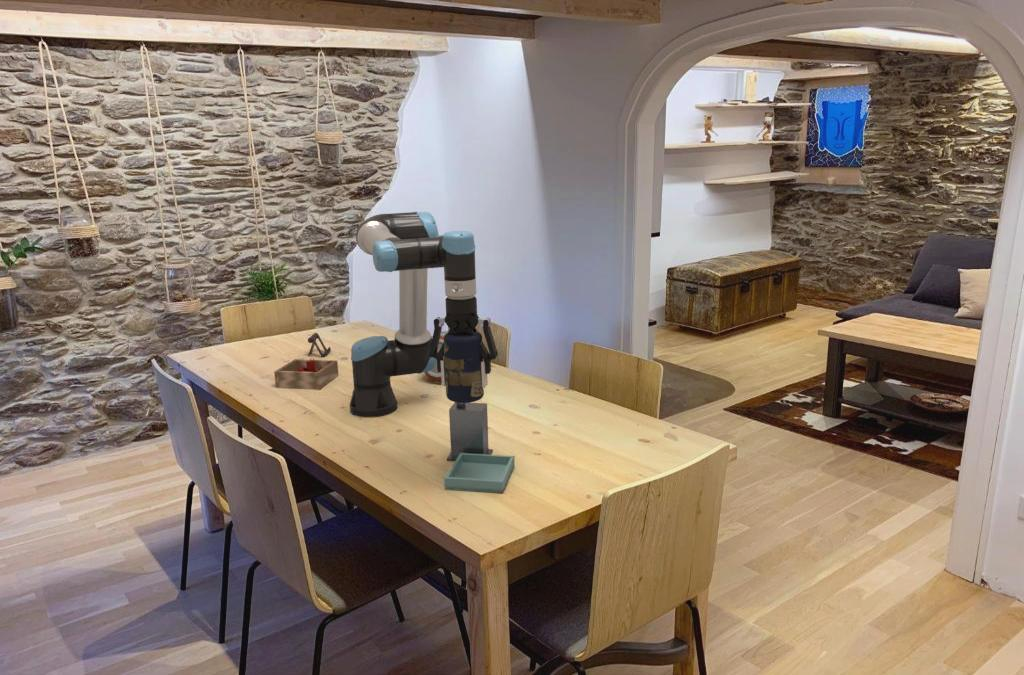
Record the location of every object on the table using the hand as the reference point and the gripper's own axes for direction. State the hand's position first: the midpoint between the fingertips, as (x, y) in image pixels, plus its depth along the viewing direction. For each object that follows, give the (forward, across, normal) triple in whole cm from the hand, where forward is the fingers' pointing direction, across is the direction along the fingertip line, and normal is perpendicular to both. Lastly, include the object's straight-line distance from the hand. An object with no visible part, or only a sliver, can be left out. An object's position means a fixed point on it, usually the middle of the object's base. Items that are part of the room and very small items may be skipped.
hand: (464, 385), depth 184 cm
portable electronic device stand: (+23, -92, +103) cm, 140 cm away
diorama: (+24, -77, +70) cm, 107 cm away
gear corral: (+23, -79, +68) cm, 107 cm away
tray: (+25, +3, 0) cm, 25 cm away
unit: (+24, -3, +13) cm, 28 cm away
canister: (+4, 0, 0) cm, 4 cm away
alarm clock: (+24, -30, +80) cm, 88 cm away
